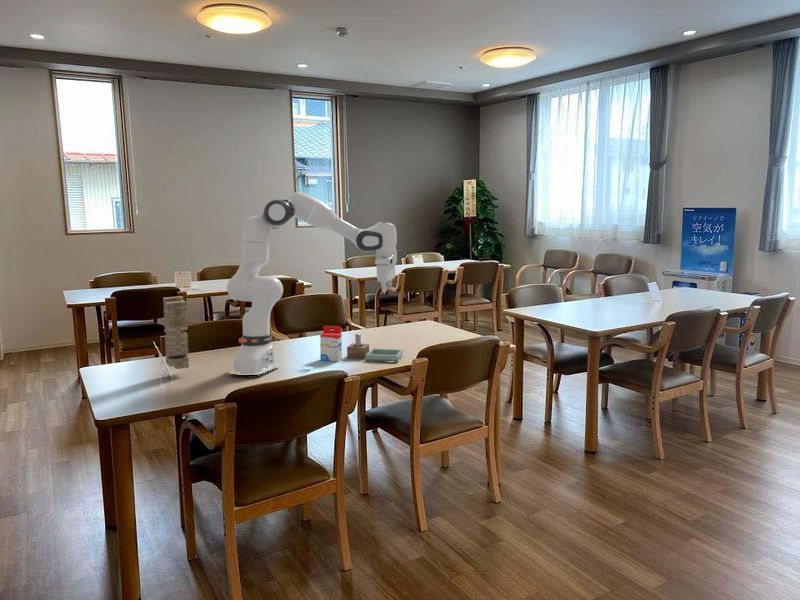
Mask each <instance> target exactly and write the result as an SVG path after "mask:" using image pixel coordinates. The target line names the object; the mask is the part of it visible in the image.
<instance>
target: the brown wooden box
mask: <svg viewBox="0 0 800 600" xmlns="http://www.w3.org/2000/svg"><path fill="white" fill-rule="evenodd" d="M369 351H370V343H361V347H356V346H355V343H350V344H349V345H347V347H346V358H347V359H357V360H358V359H359V360H366V354H367V353H368V352H369Z"/></svg>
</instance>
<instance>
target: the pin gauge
mask: <svg viewBox="0 0 800 600" xmlns="http://www.w3.org/2000/svg"><path fill="white" fill-rule="evenodd" d="M354 336H355V346H356V347H361V344H362V343H361V342H362V340H361V339H362V337H361V336H362V335H361V333H356V334H355V335H354Z"/></svg>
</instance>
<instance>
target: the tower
mask: <svg viewBox="0 0 800 600" xmlns="http://www.w3.org/2000/svg"><path fill="white" fill-rule="evenodd" d="M162 301H163V323H164V330H163V331H164V333H165V336H164V341H165V342H164V343H165V347H164V348H165V363H166V364H167V366H169V367H174V368H175V369H176V370H182V369H189V368H190V363H189V361H190V359H189V357H188V354H189V344H188V343H189V340H188V333H187V332H186V331H187V330H188V310H187V309H188V306H187V301H185V300H184V296H183V295H181V296H170V297H169V296H167V297H162Z"/></svg>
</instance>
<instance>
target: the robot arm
mask: <svg viewBox="0 0 800 600" xmlns="http://www.w3.org/2000/svg"><path fill="white" fill-rule="evenodd" d="M290 219H298V220H301V221H302V222H304V223H306V224H308V225H310V226H313V227H315V228H317V229H320V230H326V231H331V232H334V233H336V234H338V235H339V236H342V237H343V238H345V239H347V240H349V241H350V242H351V243H352V244H353V245H354V247H355V248H356V249H357V250H358V251H361V252H365V253H370V252H373V251H376V258H375V260H374V264H375V265H376V279H377V282H378V283H380V286H381V291H382V293H387V290H392V285H393V280H394V279H395V278H396V264H398V257H397V256H398V255H397V254H398V251H397V248H396V247H397V244H398V243H397V241H398V239H397V236H398V235H397V229H396V228H397V227H396V226H395V224H394V223H392V222H386V221H378V222H377V223H376V224H374V225H373V226H370V227H368V228H359V227H356V226H354V225H352V224H351V223H349V222H347V221H345V220H344V219H342V218H341V217H339V216H338V215H337V214H336V213H335V211H334V210H333V209H332V208H331V207H330V206H329V205H328V204H326V203H325V202H323V201H322V200H319V199H318V198H316V197H314V196H313V195H309V194H307V193H304V192H301V191H296V192H293V193H292V194H291V195H290V196H289V197H288V199H274V200H271V201H268V203H266V205H264V209H263V211H262V213H261V214H260V215H252V216H249V217H247V218H246V219H245V222H244V226H243V233H242V244H241V260H240V264H239V267H238V269H237V270H236V273H234V274H233V276H232V277H231V278H230V279H229V280H228V282H227V284H226V290H227V291H226V292H227V294H228V296H229V297H230V298H231V299H234V300H237V301H240V302H249V303H250V302H251V308H250V310H248V311H247V312H245V314H243V316H242V335H241V337H240V338H238V343H239V344H241V346H240V348H238V351H237V353H236V355H235V357H234V360H233V367H234V371H237V372H240V374H251V375H258V374H262V373H264V374H266V373H268V372H267V371H269V372H271V371H273V370H272V369H274V370H276V369H278V367H279V368H280V365H279V364H278V363H277V361H276V360H277V359H276V351H275V347H274V346H273V345H272V333H271V331H270V329H271V328H270V327H271V326H270V325H271V324H270V323H271V312H272V310H273V307H274V306H275V305H276V303H277V302H278V301H280V300H281V298H282V296H283V293H284V285H283V284H282V282H281V280H280V279H278V278H277V277H276V278H275V277H271V276H267V275H266V276H265V275H264V276H263V275H259V274H260V270H261V269H262V268H263V267H264V266H266V265H267V264H268V263H269V262H270V244H271V243H270V242H271V241H270V239H271V238H270V237H271V231H272V230H275V229H279V228H281V227H284V226H286V225H287V224H288V223H289V222H290ZM275 368H276V369H275ZM270 370H271V371H270ZM265 372H266V373H265ZM262 375H263V374H262ZM258 376H259V375H258Z"/></svg>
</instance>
